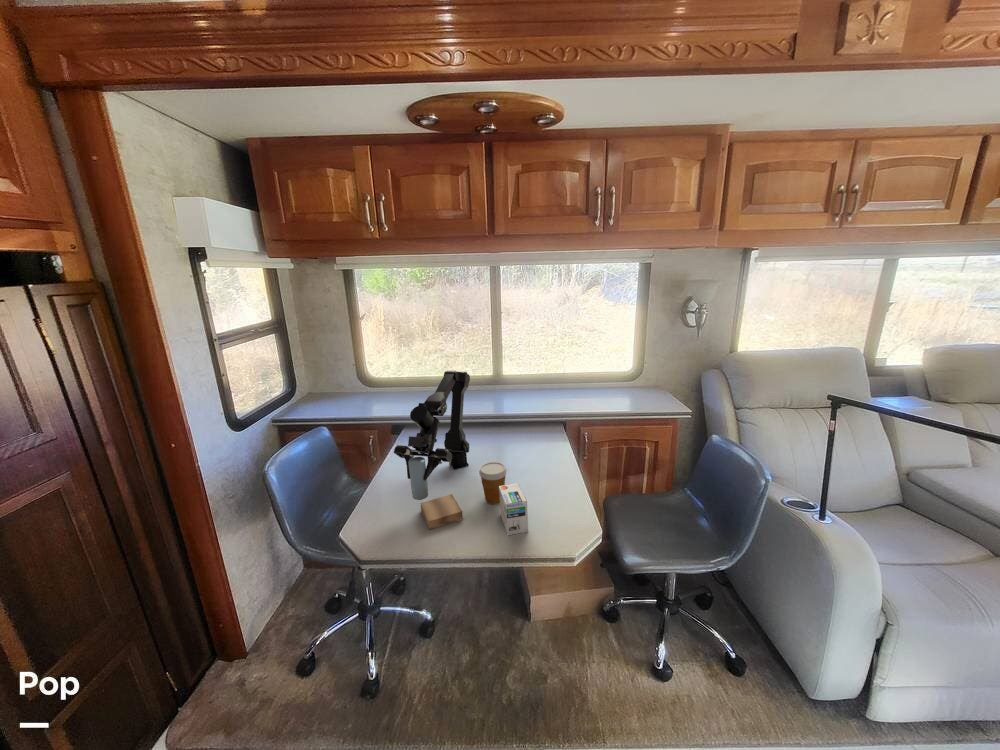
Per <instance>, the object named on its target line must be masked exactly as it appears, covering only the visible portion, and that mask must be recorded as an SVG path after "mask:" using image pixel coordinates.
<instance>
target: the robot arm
mask: <svg viewBox="0 0 1000 750" xmlns="http://www.w3.org/2000/svg"><path fill="white" fill-rule="evenodd" d="M470 381H471V376H470V374H469V373H468V372H467V371H457V370H446V371H444V373H443V377H442V379H441V381H440V383H439V384H438V386H437V388H436V389H435V392H434V393H433V394H430V395H428V397H427V398H426V399H425V401H424V402H418V405H417V406H415V407H414V408H413V409H411V411H410V413H409V414H410V415H409V416H410V419H411V421H413V422H414V424H416V425H417V426H418V428H420V429H419V432H417V434H416V435H415V436H408V440H407V441H408V443H407V445H403V444H402V445H399V444H397V445H396V446H394V449H393V454H394V455H396V456H397V457H399V458H401V459H404V460H405V463H406V474H407V479H408V480H410V472H409V463H408V461H409V460H410V459H411V458H414V457H426V458H427V464H426V470H425V474H424V481H426V480H427V481H428V478H429V477H430V476H431V475H432V473H433V472H434V470H436V468H437V467H438V466H439V465H441V464H443V462H444V463H449V465H450V467H451V468H452V469H453V470H458V469H462V468H465V467H468V466H469V463H468V458H467V454H468V453H469V452H470V443H469V442H468V441H467V439H466V433H465V432H464V429H463V419H464V417H463V415H464V402H465V401H464V398H465V393H466V392H467V389H468V388H469V385H470V384H469V383H470ZM450 394H452V396H451V409H450V411H451V412H450V427H449V429H448V431H446V433H444V434H445V435H444V442H443V445H444V446H443V447H444V448H441V447H440V448H439V447H437V448H436V449H435V450H434V446H435V443H437V442H438V439H437V433H438V430H439V427H441V426H442V425H441V424H442V423H441V421H440V419H439V418H437V417H443V416H444V415H445V414H446V412H447V409H448V405H447V400H448V397H449V396H450ZM410 447H412V448H413V449H412V448H410Z"/></svg>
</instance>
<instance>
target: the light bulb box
mask: <svg viewBox="0 0 1000 750" xmlns="http://www.w3.org/2000/svg"><path fill="white" fill-rule="evenodd" d="M499 495H500V503H499V506H500V507H499V509H500V518H501V520H502V522H503V526H504V529H505V531H506V534H507V536H511V535H516V534H523V533H528V532H529V519H528V515H529V514H528V500H527V497H526V496H525V494H524V493H523V491H522V489H521V487H520V484H519V483H518V482H517V483H511V484H505V485H503V486H499Z"/></svg>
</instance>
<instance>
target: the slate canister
mask: <svg viewBox="0 0 1000 750" xmlns="http://www.w3.org/2000/svg"><path fill="white" fill-rule="evenodd" d="M408 463H409V472H410V479H409V480H410V487H411V488H410V489H411V496H412V499H413V500H416V501H422V500H424V499H426V498H428V497H429V485H428V479H427V480H426V481H424V474H425V470H426V467H427V464H426V458H425V457H424V456H414V458H411V459H410V460H409V461H408Z"/></svg>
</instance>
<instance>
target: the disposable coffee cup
mask: <svg viewBox="0 0 1000 750" xmlns="http://www.w3.org/2000/svg"><path fill="white" fill-rule="evenodd" d="M507 472H508V469H507V468H506V466H505V464H504V463H501V462H499V461H490V462H489V461H488V462H486V463H484V464H482V465H481V466H480V468H479V471H478V475H479V476H480V479H481V484H482V489H483V494H484V495H483V496H484V500H485V502H486V503H487V504H489V505H490V504H491V505H497V504H500V495H499V486H503V485H506V484H505V483H506V475H507Z"/></svg>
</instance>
